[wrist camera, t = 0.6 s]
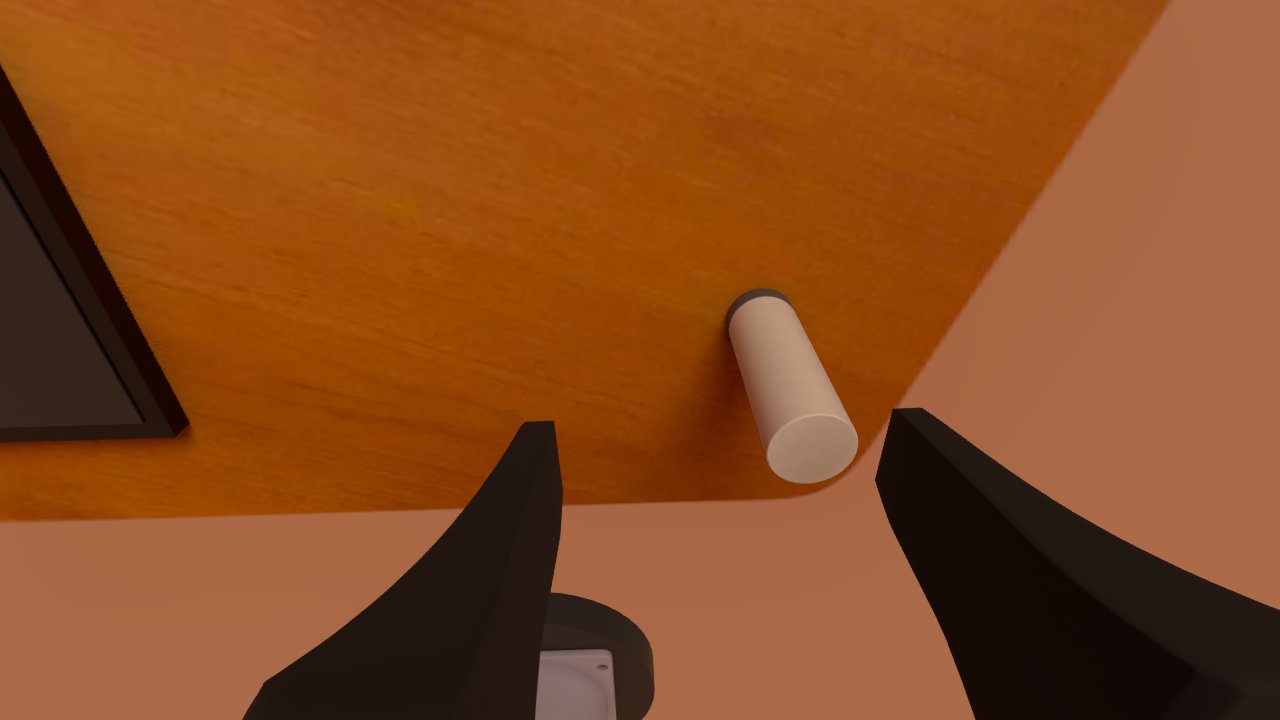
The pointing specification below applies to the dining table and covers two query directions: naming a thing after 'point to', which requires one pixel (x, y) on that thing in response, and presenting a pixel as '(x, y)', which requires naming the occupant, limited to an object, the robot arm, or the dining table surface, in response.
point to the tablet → (65, 314)
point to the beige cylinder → (789, 390)
